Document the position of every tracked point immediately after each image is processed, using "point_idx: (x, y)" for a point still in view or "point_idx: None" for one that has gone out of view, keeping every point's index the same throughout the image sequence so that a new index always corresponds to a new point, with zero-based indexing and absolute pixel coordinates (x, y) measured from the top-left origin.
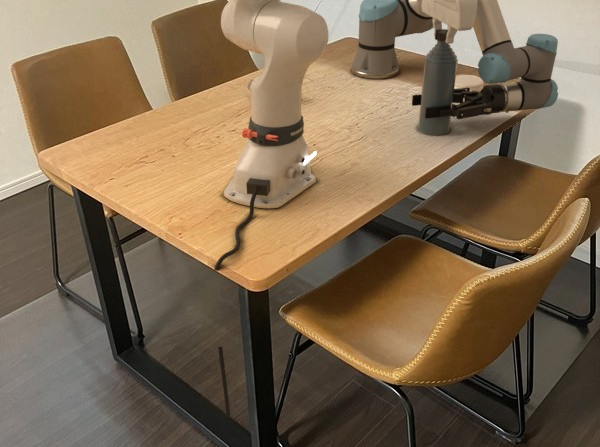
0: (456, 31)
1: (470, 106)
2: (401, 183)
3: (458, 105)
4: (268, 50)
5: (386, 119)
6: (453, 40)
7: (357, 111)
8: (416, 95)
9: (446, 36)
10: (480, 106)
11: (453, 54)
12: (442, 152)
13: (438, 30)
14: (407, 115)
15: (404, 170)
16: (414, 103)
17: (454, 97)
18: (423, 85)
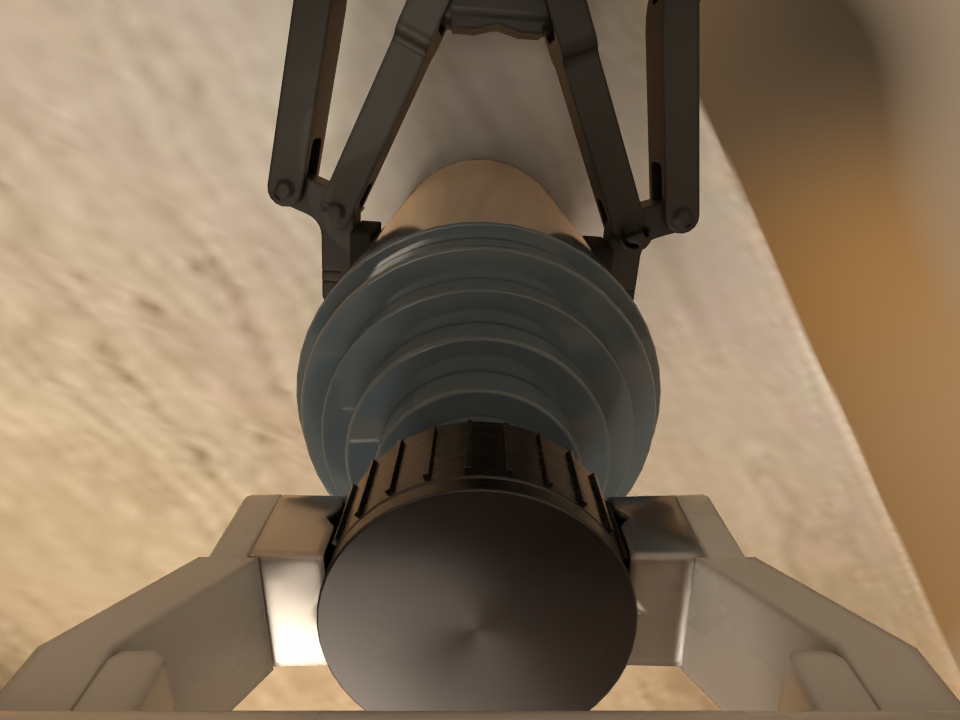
0: (866, 631)
1: (666, 112)
2: (896, 593)
3: (616, 188)
4: None
5: (291, 417)
6: (718, 513)
7: (159, 505)
8: None
9: (688, 661)
10: (697, 35)
11: (610, 355)
12: (742, 333)
13: (385, 686)
14: (263, 296)
15: (812, 546)
16: None
17: (408, 97)
18: None
